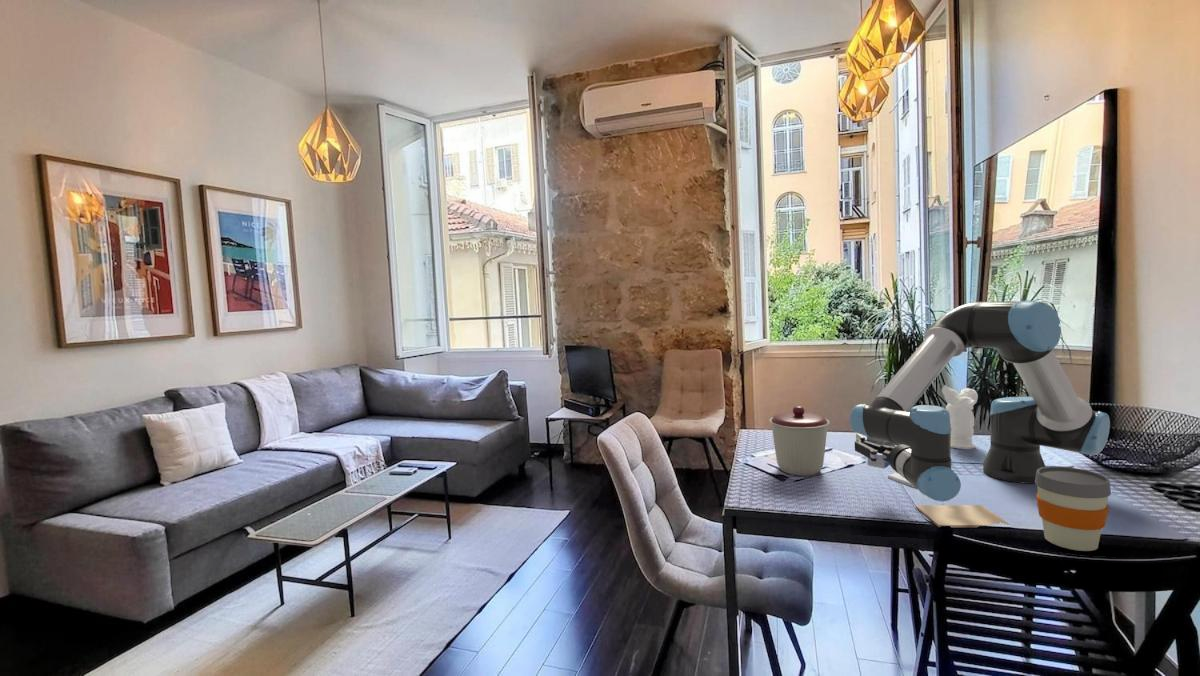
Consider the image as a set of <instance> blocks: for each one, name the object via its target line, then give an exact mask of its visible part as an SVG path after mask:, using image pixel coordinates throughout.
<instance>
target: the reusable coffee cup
mask: <svg viewBox="0 0 1200 676" xmlns="http://www.w3.org/2000/svg"><path fill="white" fill-rule="evenodd" d="M1110 483H1111V482H1110V479H1109V478H1108V477H1107V476H1104V475H1103V474H1101V473H1098V472H1094V471H1090V470H1088V469H1087V470H1086V469H1083V468H1082V469H1081V468H1077V467H1076V468H1075V467H1069V466H1067V467H1066V466H1046V467H1042V468H1039V469H1037V472H1036V478H1035V483H1034V484H1035V485H1036V487H1037V493H1036V503H1037V509H1038V510H1037V511H1038V515H1039V517H1040V518H1041V520H1042V530H1043V535H1044V539H1045V540H1046V541H1047V542H1050V543H1051V544H1053V545H1055V546H1058V547H1059V548H1060V547H1061V548H1065V549H1068V550H1073V551H1080V552H1091V551H1096V550H1097V549H1099V543H1100V539H1101V534H1102V529H1104V528H1106V527H1105V526H1106V523H1107V517H1108V514H1109V513H1108V512H1109V508H1110V506H1109V504H1108V500H1109V497H1110V496H1111V495H1112V494H1111V493H1112V492H1111V484H1110Z"/></svg>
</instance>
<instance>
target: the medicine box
mask: <svg viewBox="0 0 1200 676" xmlns="http://www.w3.org/2000/svg"><path fill="white" fill-rule="evenodd" d="M866 439H867V441H868V442H872V443H875V444H878V445H881V446H882V445H887V446H890V447H896V445H895V442H891V441H887V440H882V439H878V438H873V437H872V438H871V437H868V436H866ZM866 458H867V466H869V467H874V468H880V469H884V470H885V469H886V468H888V467H889V466H890V464H889V462H888V461H885V460H883V459H882V458H878V460H876V461H875V462H873V461H871V460H870V458H868V457H866Z"/></svg>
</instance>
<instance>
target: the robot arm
mask: <svg viewBox="0 0 1200 676" xmlns="http://www.w3.org/2000/svg"><path fill="white" fill-rule="evenodd" d="M1060 324H1061V320H1060V317H1059V314H1058V312H1057V311H1056V310H1055V309H1054V308H1053V307H1052V306H1051V305H1050V304H1049V303H1045V302H1042V301H1034V300H1033V301H1031V300H1018V301H1017V300H1016V301H1015V300H1014V301H1011V300H1010V301H972V302H968V303H964V304H961V305H959V306H957V307H954V308H953V309H950V310H949V311H947V312H946V313H945V314H943V315H942V316H940V317H939V318H937V319H936V320H935V321H934V322H933V323H932V324H931V325H930V326H929V327H928V329H927V330H926V331H925V333H924V335H923V341H922V343H921V344H920V345H919V346H918V347H917V348H916V350H914V352H913V353H912V354H911V356H909V357H908V359H907V360H906V361H905V362H904V364H903V365H902V366H901V367H900V368H899V370H898V371H897V372H896V374H895V375H894V376H893V377H892V378H891V379H890V380H889V382H888V383H887V384H886V385H885V387H884V388H883V389H882V390H881V391H880V392H879V394H878V395H877V396H876V398H874V399H873V401H872V402H871V403H870V404H868V403H859V404H858V405H855V406H854V407H852V410H851V412H850V415H849V423H850V426H851V429H852V430H853V431H854V432H855V441H854V451H855V452H857V453H858V454H861V456H862V455H863V456H864V457H866V458H867V457H868V458H870V460H871V461H873V462H875V461H876V460H878V458H882V459H883V460H885V461H888V462H889V464H890V465H889V466H890V467H891V469H892V470H894V471H895V473H898V474H900V475H901V476H902V477H904V478H905V479H906V480H908V481H909V482H910V483H911V484H912V485H914V486H915V487H916V488H915V489H917V490H918V491H919V492H920V493H921V494H922V495H925V496H926V497H927V498H929V499H932V500H934V501H936V502H942V503H943V502H948V501H951V500H952V499H954V498H956V497H957V495H958V494H959V492H960V490H961V487H962V483H961V479H960V477H959V475H957V473H956V472H955V470H953V469H952V457H951V456H952V455H951V450H952V448H951V425H950V414H949V412H948V410H946V407H942V406H938V405H929V404H920V405H916V403H917V402H918V401H919V399H920V398H921V397H922V396H923V395H924V394H925V392H926V391H927V390H928V388H929V387H930V386H931V384H933V382H935V380H936V378H938V376H939V375H940V374H941V372H942V371H943V370H944V369H945V367H946V366H947V365H948V363H950V361H951V360H952V359H953V357H954V358H955V357H958V356H960V355H961V354H962V353H963V352H964V351H965V350H966V349H970V348H975V347H976V348H986V349H996V351H997V353H998V354H999V356H1000V358H1002V359H1003V360H1004V361H1006V362H1008V363H1011V364H1013V367H1014V368H1015V370H1016V372H1017V373H1018V376H1019V377H1020V378H1021V380H1022V382H1023V384H1024V385H1025V388H1026V389H1027V390H1028V392H1029V394H1030V396H1010V397H1001V398H1000V397H999V398H996V399H994V400H992V402H991V403H990V412H989V416H990V418H989V421H990V436H989V437H990V444H989V445H990V446H989V450H988V451H987V454H986V456H985V458H984V461H983V465H982V468H983V469H982V471H983V473H984V474H985V475H986V476H989V475H990V476H989V477H991V476H992V478H994V477H995V478H994V479H997V478H999V479H998V480H1001V479H1003V480H1002V481H1006V480H1008V481H1007V482H1011V481H1014V482H1013V483H1019V482H1024V483H1023V484H1035V478H1036V472H1037V469H1039V468H1042V467H1047V466H1046V464H1045V462H1044V459H1043V456H1042V453H1041V447H1042V446H1043V447H1047V448H1052V449H1058V450H1063V451H1069V452H1073V453H1077V454H1081V455H1082V454H1084V455H1092V456H1095V455H1098V454H1100V453H1101V452H1102V451H1103V449H1104V448H1105V446H1106V445H1107V441H1108V438H1109V434H1110V428H1111V420H1110V416H1109V414H1108V413H1106V412H1103V411H1100V410H1098V411H1095V410H1093V409H1092V406H1091V405H1090V404H1089V403H1088V402H1087V400H1085V399H1083V398H1081V397H1079V396H1078V394H1077V393H1076V391H1075V389H1074V387H1073V386H1072V384H1071V382H1070V380H1069V378H1068V376H1067V374H1066V373H1065V371H1064V369H1063V367H1062V366H1061V365H1062V364H1061V363H1060V361H1059V359H1058V357H1057V355H1056V354H1055V352H1054V349H1055V347H1057V345H1058V344H1059V342H1060V339H1061V334H1062V327H1061V326H1060ZM865 436H866V437H865ZM867 436H868V437H871V438H872V437H873V438H878V439H882V440H887V441H891V442H895V447H890V446H887V445H882V446H881V445H878V444H875V443H872V442H868V441H867ZM868 458H867V459H868Z"/></svg>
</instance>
